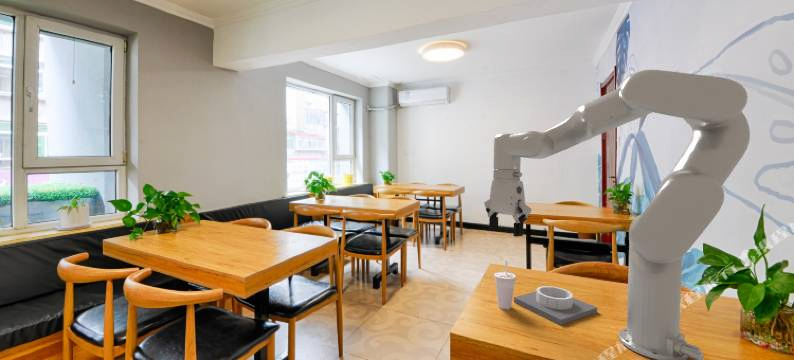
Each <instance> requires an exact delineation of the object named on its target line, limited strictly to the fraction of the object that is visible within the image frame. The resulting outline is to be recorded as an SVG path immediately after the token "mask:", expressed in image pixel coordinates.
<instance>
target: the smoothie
mask: <svg viewBox="0 0 794 360" xmlns="http://www.w3.org/2000/svg"><path fill="white" fill-rule="evenodd" d="M508 263H509V262H508V260H505V271H497V272H495V273H494V274H493V278H494V280H495V281H494V283H495V289H496V298H497V306H498V308H500V309H502V310H511V309H512V304H513V299H514V290H515V284H516V280H517V275H516V274H514V273H511V272H508Z"/></svg>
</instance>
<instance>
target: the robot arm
mask: <svg viewBox="0 0 794 360" xmlns="http://www.w3.org/2000/svg"><path fill="white" fill-rule="evenodd" d="M747 103H748V93H747V91H746V88H745V87H744V86H743V85H742V84H740V83H739V82H737V81H735V80H734V79H730V78H726V77H722V76H721V77H720V76H714V75H704V74H703V75H702V74H698V73H697V74H695V73H687V72H680V71H670V70H662V69H644V70H640V71H638V72H635V73H632V74H631V75H630V76H629V77H627V78H626V79H625V80H624V82H623V83H622V85H621V86H620V87H618V88H616V89H614V90H612V91H610V92H608V93H605V94H604V95H602V96H599V97H597V98H595V99H593V100H591V101H590V102H587V103H585V104H582V105H581V106H579V107H578V108H577V109H576V110H575V111H574V112H573V113H572V115H571V116H569V117H568V118H567V119H565V120H564V121H562V122H561V123H559V124H557V125H555V126H553V127H551V128H549V129H547V130H544V131H541V132H539V131H536V130H529V131H525V132H524V131H523V132H519V133H500V134H497V135H495V136H494V139H493V171H492V173H493V176H492V177H493V178H492V181H491V185H490V194H489V199H487V200H486V201H484V203H483V204H484V207H485V211H486V212H487V217H488V218H489V219H488V226H489V227H488V229H489V231H496V230H499V216H498V215H499V214H502V215H506V216H507V215H508V216H511V217H512V218H513V219H514V221H515V222H513V237H515V238H517V237H524V223H526V222H527V219H529V218H530V214H531V213H532V208H531V207H530V206H528V205H527V204H526V196H525V188H524V183H523V180H521V177H523V173H522V172H521V161H522V160H521V158H525V159H526V158H527V159H535V160H536V159H537V160H538V159H539V160H541V159H545V158H548V157H550V156H553V155H556V154H558V153H562V152H563V151H566V150H569V149H570V148H572V147H575V146H577V145H580V144H581V143H583V142H586V141H589V140H591V139H593V138H595V137H597V136H600V135H601V134H604V133H606V132H609V131H612V130H614V129H617V128H618V127H621V126H623V125H625V124H628V123H630V122H633V121H636V120H638V119H640V118H642V117H643V118H644V116H648V115H650V114H651V113H655V114H659V115H664V116H669V117H670V116H671V117H676V118H679V119H680V118H681V119H683V120H684V122H686V123H687V124H688V125H689V126H690V129H691V131H692V137H691V140H690V143H688V146H686V148H685V149H684V152H683V153H682V155H681V156H680V157H679V159H678V161H677V162H676V163H675V165H674V166H673V168H672V169H671V170H670V171H669V173H668V174H667V175H666V177H665V178H663V179H662V180H661V182H660V183H659V185H658V188H657V192H656V194H655V195H654V197H653V198H652V199H651V201H650V202H649V204H648V205H647V207H645V210H644V211H643V212H642V213H641V214H639V215H637V216H635V218H634V219H633V220H632V221H631V223H630V225H629V229H628V240H629V242H628V244H629V246H628V248H629V249H628V277H627V305H626V306H627V308H626V310H627V311H626V328H622V329H621V330H619V332H618V340H619V341H620V343H621V344H622V345H624V346H625V347H627V348H628V349H629V350H631V351H632V352H636V353H638V354H639V355H641V356H644V357H647V358H650V359H653V360H688V358H690V359H692V360H704V357H705V356H704V352H702V348H701V347H699V346H696V345H694V344H692V343H691V344H690V343H688V341H686V334H684V333H682V332H680V327H681V325H680V324H681V304H682V303H681V302H682V301H681V299H682V298H681V297H682V285H683V284H682V282H683V280H682V279H683V256H684V255H685V254H686V253H687V252H688V251H689V250H690V249H691V248H692V247H693V245H694V244H695V243H696V242H697V240H698V239H699V238H700V236H701V235H702V234H703V233H704V231H705V230H706V229H707V228H708V226H709V225H710V224H711V223H712V221H713V220H714V219H715V217H716V216H717V215H718V214H719V212H720V210H721V209H722V207H723V204H724V201H725V191H724V188H723V186H724V184H725V182H726V181H727V180H728V178H729V177H730V176H731V174H732V172H733V171H734V169H735V168H736V167H737V165H738V164H739V163H740V161H741V160H742V158H743V157H744V155H745V153H746V151H747V150H748V147H749V143H750V138H751V135H750V134H751V130H750V125H749V122H748V120H747V117H746V116H745V113H743V110H744V109H745V107H746V105H747Z"/></svg>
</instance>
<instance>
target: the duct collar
mask: <svg viewBox="0 0 794 360" xmlns="http://www.w3.org/2000/svg"><path fill="white" fill-rule="evenodd" d="M513 303H515V304H518V305H519V306H521V307H523V308H526V309H527V310H529V311H531V312H533V313H535V314H537V315H539V316H541V317H543V318H545V319H547V320H550V321H551V322H554V323H555V324H557V325H560V326H563V325H566V324H569V323H572V322H574V321H578V320H579V319H580V320H581V319H582V318H586V317H589V316H591V315H594V314H597V313H598V307H597V306H595V305H592V304H590V303H588V302H585V301H582V300H580V299H577V298H576V297H575V298H574V295H573V293H572V292H571V291H569V290H567V289H565V288H563V287H556V286H552V285H550V286H549V285H548V286H547V285H544V286H543V285H542V286H538V287H537V288H536V290H535V291H532V292H529V293H525V294H521V295H518V296H515V297H514V296H513Z"/></svg>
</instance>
